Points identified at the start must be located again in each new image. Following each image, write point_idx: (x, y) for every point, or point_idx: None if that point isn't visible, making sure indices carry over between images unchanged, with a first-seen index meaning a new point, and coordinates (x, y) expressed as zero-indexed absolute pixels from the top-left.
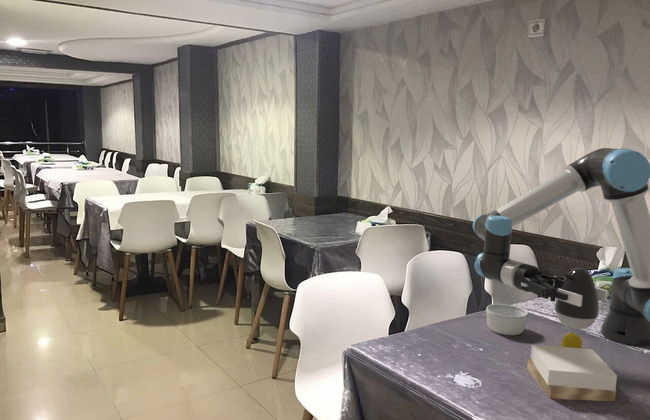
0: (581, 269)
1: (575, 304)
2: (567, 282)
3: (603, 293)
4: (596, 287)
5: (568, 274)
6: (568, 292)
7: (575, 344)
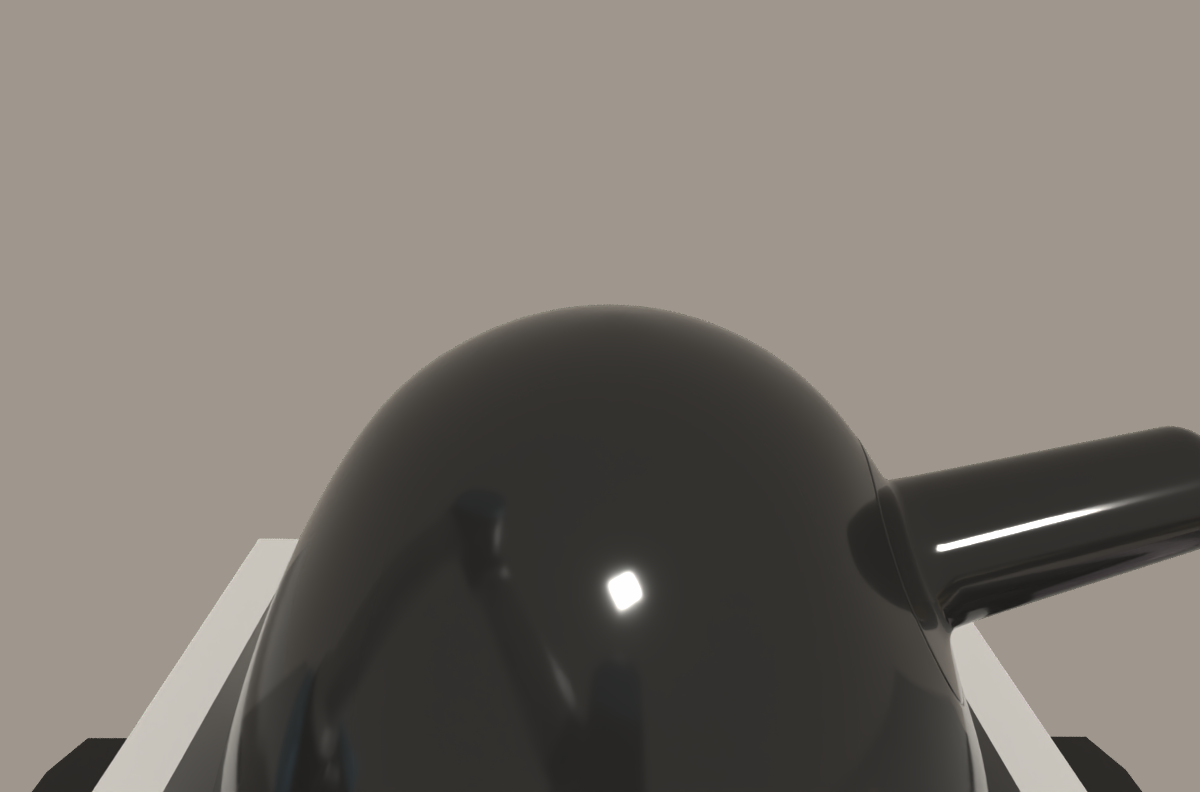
0: (658, 312)
1: None
2: (969, 716)
3: None
4: (170, 679)
5: (1112, 442)
6: (1023, 700)
7: None
